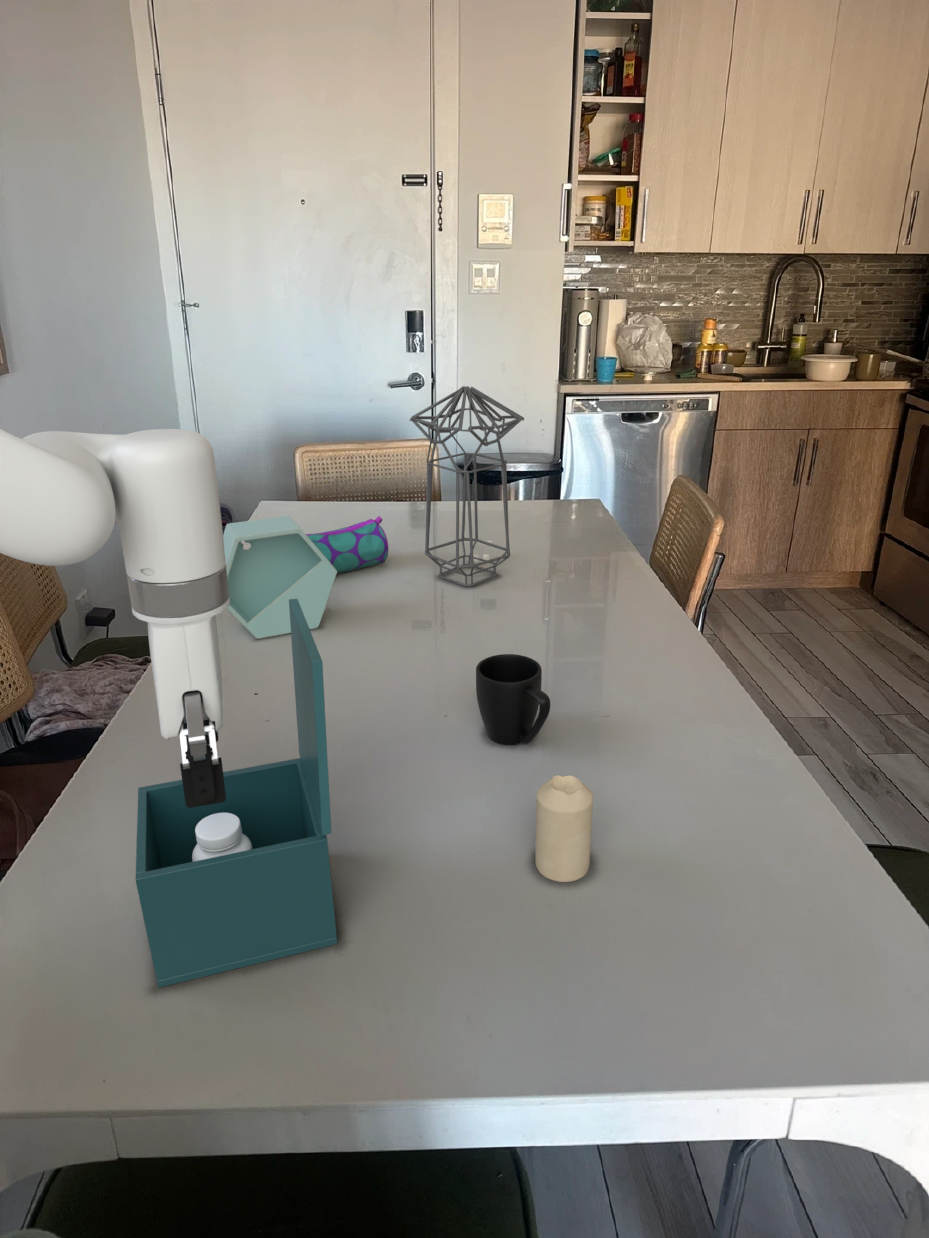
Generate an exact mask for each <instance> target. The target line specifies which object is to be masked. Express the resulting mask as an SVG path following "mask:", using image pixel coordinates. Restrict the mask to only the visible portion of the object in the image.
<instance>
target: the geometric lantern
mask: <svg viewBox="0 0 929 1238" xmlns="http://www.w3.org/2000/svg"><path fill="white" fill-rule="evenodd" d="M461 398H462V401H461V407H460V408H458V409H457V406H458V404H459V402H460V400H461ZM448 400H449V401H448ZM446 401H448V402H447V403H446V404H445V406H443V407H442V409H441V410H440V411H439V412H438V414H437V415H430V416H429V415H425V416H424V415H423V414H425V413H427V412H428V411H430V410H432V409H434V408H435V407H438V406H439V405H441V404H443V403H444V402H446ZM466 401H467V402H468V407H467V408H466ZM475 403H476V404H475ZM490 404H491V405H493V406H494V407H496V408H498V409H499V410H501V411H503V412H505V413H506V414H508V415H501V414H500V413H499V412H497V411H496V410H495V409H494V408H493V407H492V406H491V405H490ZM476 405H477V406H478V407H479V408H480V409H478V408H476V407H477V406H476ZM466 411H469V426H468V428H467V429H463V423H464V418H465V417H464V416H465V412H466ZM445 412H446V413H445ZM444 413H445V414H444ZM472 413H473V414H474V415H475V418H476V420H477V422H478V425H473V426H472ZM456 414H457V416H456V417H455V419H454V421H453V422H452V418H453V416H454V415H456ZM493 414H494V415H493ZM422 415H423V416H422ZM481 415H483V416H485V417H486V418H487V419H488V420H489V421H490V422H491V425H490V426H489V425H488V423H487V422H486V421H485V420H484V418H483V417H482V416H481ZM439 419H442V420H441V422H440V423H439ZM447 419H448V423H447V424H448V426H444V424H445V423H446V421H447ZM506 419H510V420H509V421H507V422H506ZM511 419H512V420H511ZM427 420H432V421H427ZM522 421H523V422H524V421H525V417H524V416H522V415H521V414H519V413H517V412H515V411H514V410H512V409H510V408H509V407H507V406H505V405H504V404H502V403H500V402H499V401H497V400H495V399H494V398H492V397H491V396H489V395H487V394H485V393H484V392H482V391H480V390H479V389H477V388H475V387H474V386H468V385H467V386H461V387H460V388H458V389H457V390H455V391H454V392H452V393H450V394H448V395H446V396H445V397H443V398H442V399H440V400H438V401H436V402H435V403H433V404H431V405H429V406H428V407H426V408H424V409H422V410H420V411H419V412H417V413H415V414H413V415H412V416H411V417H410V418H409V422H412V423H413V424H414V425H415V427H417V428H418V430H419V431H420V432H421V433H422V434H423V435H424V436H425V437H426V438H427V439H428V440H429V446H428V450H427V456H426V457H427V458H426V492H425V493H426V494H425V495H426V498H425V500H426V501H425V543H424V545H425V546H424V555H425V556H427V558H429V559H430V560H431V561H432V562H433V563H435V565H437V566H438V567H439V574H438V576H439V577H440V579H443V580H445V581H449V582H451V583H454V584H456V585H459V586H461V587H465V588H469V587H474V586H477V585H479V584H481V583H483V582H485V581H488V580H490V579H492V578H494V577H497V576H498V574H497V567H498V566H500V565H501V564H503V563H504V561H506V560H508V559H509V558H510V557H511V549H510V547H511V546H510V534H509V533H510V532H509V530H510V529H509V502H508V501H509V499H508V476H507V475H508V474H507V473H508V472H507V463H508V461H507V460H505V458H504V453H503V449H502V444H501V439H502V438H504V437H505V436H506V435H507V434H508V433H509V432H510V431H512V430H513V429H514V428H515V427H516V426H517V425H518V424H520V422H522ZM451 422H452V424H451ZM497 422H500V424H498V423H497ZM501 422H502V423H501ZM457 423H458V425H457V426H456V424H457ZM421 425H422V426H424V427H426V428H427V431H428V432H427V431H426V430H425V429H424V428H423V427H422V426H421ZM455 426H456V427H455ZM495 429H496V430H495ZM431 430H432V431H433V432H435V434H434V439H433V438H432V432H431ZM475 430H480V431H482V432H484V437H483V438H482V437H481V436H479V434H478V433H476V432H475ZM459 432H468V433H470V434H471V435H472V436H474V438H475V439H477V441H478V442H480V443H479V444H478V446H477V448H476V449H475V451H474V452H466V451H465V449H464V448H463V447H462V445H461V443H460V442H459V441H458V440H457V438H456V437H455V435H456V434H458V433H459ZM490 433H492V434H495V436H496V438H495V439H492V440H489V441H488V437H489V435H490ZM441 434H447V436H445V437H444V438H443V439H442V438H441ZM451 438H452V439H453V440H454V441H455V443H456V444H457V446H458V447H459V448H460V450H461V451H462V452H461V453H457V454H451V452H450V450H449V449H448V447H447V445H446V443H445V442H447V441H449V440H450V439H451ZM496 443H497V448H498V452H499V457H500V458H497V457H493V456H488V455H484V454H480V453H479V452H480V450H481V448H482V446H484V447H488V446H490V445H494V444H496ZM432 444H433V445H432ZM437 444H439V445H441V446H442V447H443V449H444V451H445V453H446V454H447V456H444V457H438V458H434V457H435V452H436V448H437ZM431 449H432V450H431ZM430 454H431V455H430ZM461 456H463V457H464V458H463V469H460V468H459V466H458V465H457V463H456V461H455V460H454V458H456V457H461ZM468 457H471V458H470V460H469V461H468ZM477 457H480V458H484V459H488V460H492V461H493V460H494V461H497V462H501V463H500V464H496V465H491V466H487V467H482V468H477ZM447 459H449V460H450V461H451V463H452V465H453V467H454V468H450V467H448V466H444V465H440V464H436V463H434V462H437V461H442V460H447ZM472 461H473V469H472V470H468V468H469V466H470V465H471V463H472ZM434 467H436V468H439V469H443V470H446V471H450V472H454V473H456V479H455V481H456V482H455V483H456V485H455V486H456V487H455V488H456V489H455V498H456V499H455V513H456V514H455V540H451V541H447V542H445V543H441V544H439V545H435V546H431V547H429V546H430V531H431V530H430V528H431V511H432V493H433V492H432V491H433V475H434V473H433V471H434ZM495 468H500V472H501V473H500V474H501V488H502V489H501V490H502V501H503V502H502V503H503V518H504V527H505V530H504V532H505V547H504V546H500V545H498V544H495V543H491V542H489V541H485V540H482V539H479V527H478V526H479V523H478V521H479V520H478V517H479V515H478V481H477V480H478V476H477V472H483V471H486V470H491V469H495ZM472 473H473V491H474V492H473V494H474V495H473V496H474V497H473V498H474V499H473V500H474V538H473V521H472V502H471V483H470V481H471V480H470V474H472ZM460 474H463V484H462V485H463V486H462V490H463V491H462V515H461V516H462V518H461V537H460ZM466 501H467V518H468V521H467V522H468V536H469V537H465V530H466V529H465V528H466ZM460 542H461V545H462V551H463V555H461V556H460ZM465 542H469V554H466V547H465ZM477 543H480V544H483V545H486V546H490V547H492V548H495V549H498V550H502V551H504V552H503V554H501V555H500V556H496V557H494V558H490V559H484V558H480V557H477V556H474V550H475V547H476V544H477ZM453 544H455V558H453V559H450V560H446V559H443V558H441V557H439V556H437V555H433V554H432V553H431V552H430V551H433V550H437V549H441V548H444V547H447V546H450V545H453ZM466 558H468V561H467V562H468V563H466ZM460 559H462V564H460ZM475 560H478V561H480V562H476V563H475V562H474V561H475ZM454 562H455V563H454ZM487 564H491V566H488V567H481V566H483V565H487ZM444 565H448V566H451V567H453V568H450V567H447V566H444ZM475 568H476V569H478V570H476V571H474V569H475ZM443 569H444V570H445V571H443ZM463 569H471V570H470V573H468V574H467V573H466V572H465V571H464V570H463ZM479 569H480V570H479ZM491 569H493V570H491ZM458 570H459V571H458ZM451 572H452V573H456V574H459V575H461V576H464V583H462V582H460V581H457V580H454V579H451V578H448V577H446V576H443V575H445V574H447V573H451ZM482 572H488V573H491V574H492V575H490V576H488V577H485V578H483V579H481V580H478V581H477V582H476V581H475V582H474V576H475V575H477V574H480V573H482ZM468 577H470V584H468Z"/></svg>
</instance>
